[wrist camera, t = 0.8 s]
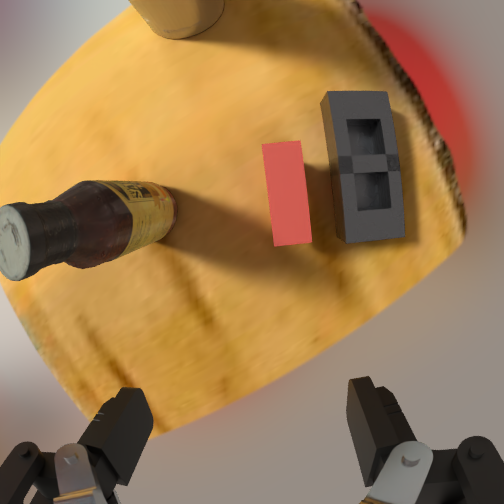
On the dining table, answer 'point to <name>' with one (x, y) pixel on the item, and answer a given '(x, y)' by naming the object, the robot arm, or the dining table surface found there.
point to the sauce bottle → (83, 226)
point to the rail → (363, 165)
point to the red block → (287, 193)
